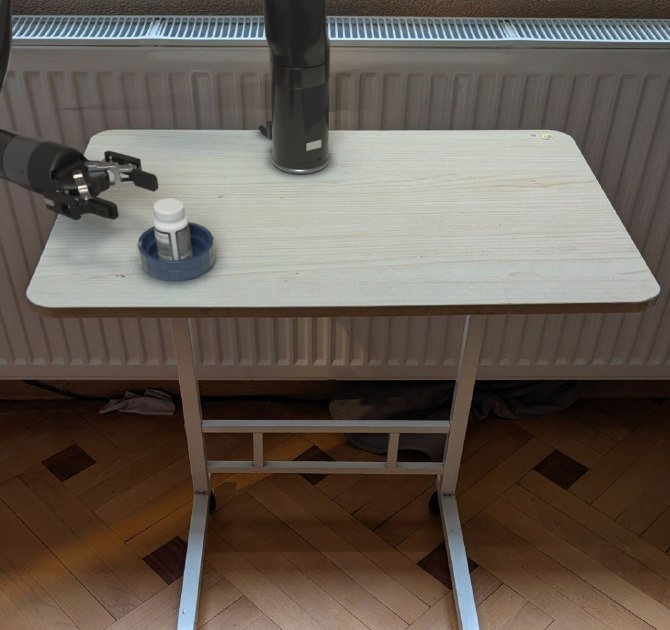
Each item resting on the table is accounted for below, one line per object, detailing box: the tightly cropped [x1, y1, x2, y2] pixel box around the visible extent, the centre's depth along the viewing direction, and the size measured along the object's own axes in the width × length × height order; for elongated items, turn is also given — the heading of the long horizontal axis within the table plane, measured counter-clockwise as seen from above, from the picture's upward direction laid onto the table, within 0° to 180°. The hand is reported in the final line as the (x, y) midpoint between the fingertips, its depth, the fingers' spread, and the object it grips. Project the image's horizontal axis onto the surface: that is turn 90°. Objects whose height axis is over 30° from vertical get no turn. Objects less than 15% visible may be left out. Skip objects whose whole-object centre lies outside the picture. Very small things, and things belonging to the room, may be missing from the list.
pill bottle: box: [152, 197, 193, 260], centre depth 113 cm, size 5×5×8 cm
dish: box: [137, 221, 216, 282], centre depth 115 cm, size 10×10×4 cm
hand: (136, 197), depth 112 cm, fingers open, 8 cm apart
